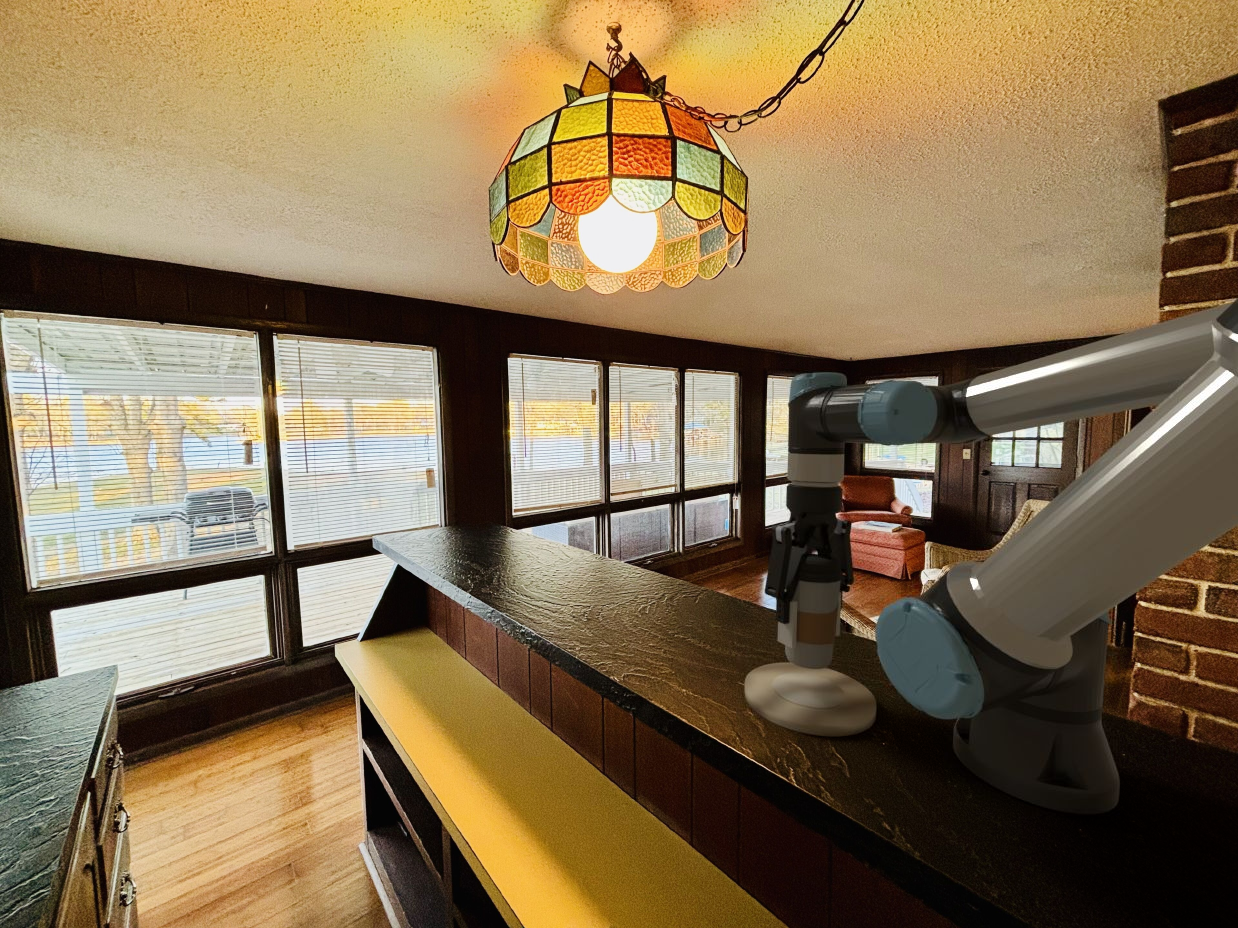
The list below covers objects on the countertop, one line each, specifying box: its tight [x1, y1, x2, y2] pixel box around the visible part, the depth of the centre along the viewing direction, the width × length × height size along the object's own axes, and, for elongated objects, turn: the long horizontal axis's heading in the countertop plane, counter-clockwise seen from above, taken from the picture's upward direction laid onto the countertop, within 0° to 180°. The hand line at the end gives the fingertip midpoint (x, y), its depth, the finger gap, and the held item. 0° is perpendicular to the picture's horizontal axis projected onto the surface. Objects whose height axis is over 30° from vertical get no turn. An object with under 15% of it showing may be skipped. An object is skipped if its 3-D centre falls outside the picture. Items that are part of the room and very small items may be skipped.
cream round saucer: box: [744, 662, 877, 737], centre depth 76 cm, size 18×18×2 cm
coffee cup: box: [784, 552, 842, 669], centre depth 75 cm, size 8×8×15 cm
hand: (809, 638), depth 75 cm, fingers closed on coffee cup, 8 cm apart
